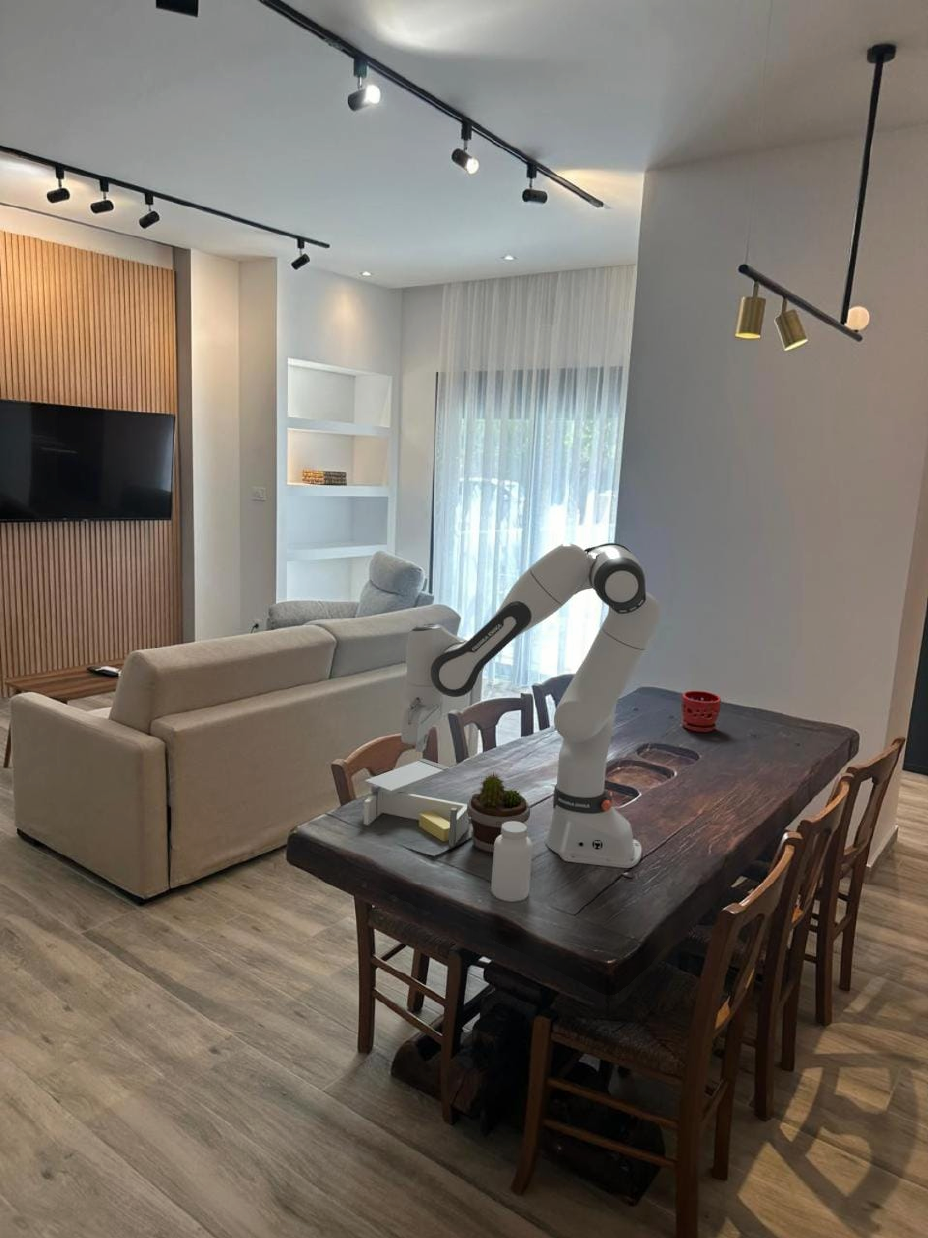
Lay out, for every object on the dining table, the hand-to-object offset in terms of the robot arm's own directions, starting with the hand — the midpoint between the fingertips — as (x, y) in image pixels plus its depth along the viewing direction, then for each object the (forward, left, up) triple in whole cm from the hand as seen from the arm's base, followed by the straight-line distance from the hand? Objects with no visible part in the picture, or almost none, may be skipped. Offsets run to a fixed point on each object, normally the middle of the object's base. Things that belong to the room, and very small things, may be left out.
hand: (420, 750), depth 194 cm
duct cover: (+10, -15, -14) cm, 23 cm away
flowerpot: (-19, -2, -22) cm, 29 cm away
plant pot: (-57, -119, -22) cm, 134 cm away
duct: (+2, -4, -21) cm, 22 cm away
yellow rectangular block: (-4, -4, -22) cm, 22 cm away
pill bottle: (-28, +17, -22) cm, 39 cm away
